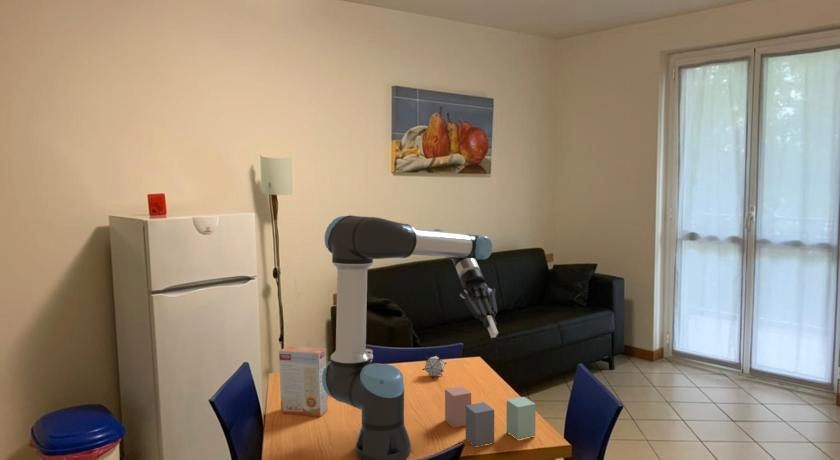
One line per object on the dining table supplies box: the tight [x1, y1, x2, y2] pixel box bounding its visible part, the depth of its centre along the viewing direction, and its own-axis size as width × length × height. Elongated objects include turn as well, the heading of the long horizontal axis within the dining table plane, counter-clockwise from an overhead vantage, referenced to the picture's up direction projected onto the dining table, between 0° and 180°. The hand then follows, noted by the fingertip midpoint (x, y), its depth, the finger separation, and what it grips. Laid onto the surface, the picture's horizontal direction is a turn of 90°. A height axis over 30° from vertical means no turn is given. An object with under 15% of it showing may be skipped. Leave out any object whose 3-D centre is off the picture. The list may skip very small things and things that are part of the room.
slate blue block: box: [465, 401, 495, 448], centre depth 164 cm, size 6×6×10 cm
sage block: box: [506, 396, 536, 439], centre depth 168 cm, size 6×6×10 cm
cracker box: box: [278, 345, 328, 417], centre depth 185 cm, size 14×6×21 cm, turn 74°
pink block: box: [444, 385, 472, 429], centre depth 177 cm, size 6×6×10 cm
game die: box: [422, 353, 448, 380], centre depth 218 cm, size 9×8×10 cm
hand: (494, 335), depth 180 cm, fingers closed
